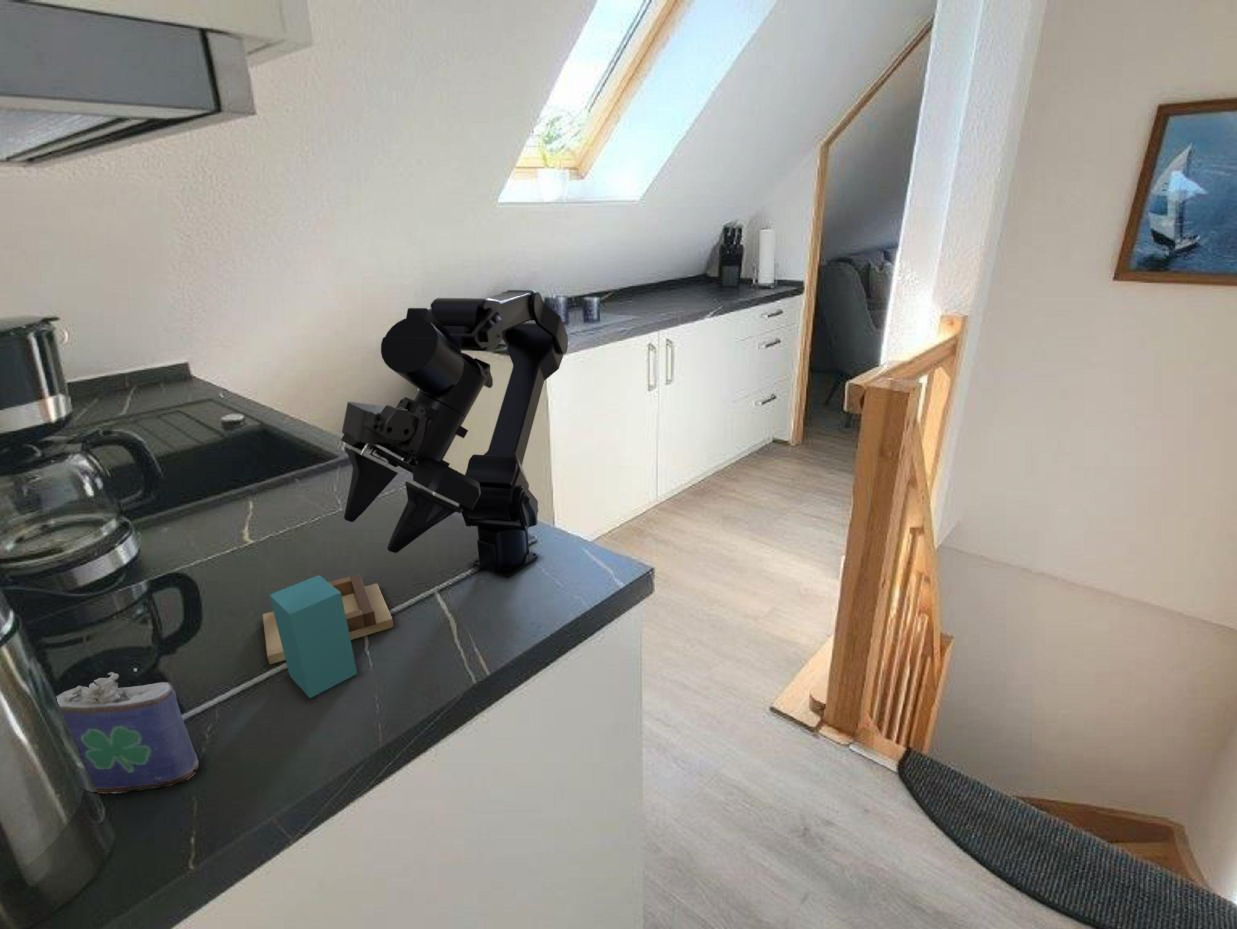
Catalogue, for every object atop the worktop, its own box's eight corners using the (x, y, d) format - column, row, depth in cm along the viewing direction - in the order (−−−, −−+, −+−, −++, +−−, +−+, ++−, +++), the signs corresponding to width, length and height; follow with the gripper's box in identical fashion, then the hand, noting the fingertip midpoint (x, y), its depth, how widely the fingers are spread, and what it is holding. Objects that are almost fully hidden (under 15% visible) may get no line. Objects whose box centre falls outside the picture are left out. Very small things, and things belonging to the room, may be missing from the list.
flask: (205, 760, 58) (171, 661, 54) (188, 787, 55) (151, 686, 51) (95, 769, 57) (53, 670, 53) (72, 797, 54) (26, 695, 50)
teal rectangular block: (336, 653, 71) (319, 574, 68) (357, 673, 68) (341, 592, 64) (289, 676, 68) (268, 594, 64) (309, 698, 65) (289, 614, 61)
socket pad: (378, 590, 83) (374, 569, 82) (394, 628, 75) (390, 606, 74) (264, 621, 77) (258, 600, 76) (269, 666, 69) (263, 643, 68)
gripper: (338, 352, 70) (262, 481, 68) (435, 389, 58) (346, 546, 56) (416, 399, 78) (350, 515, 76) (514, 439, 67) (440, 577, 65)
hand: (368, 535), depth 68 cm, fingers open, 9 cm apart
